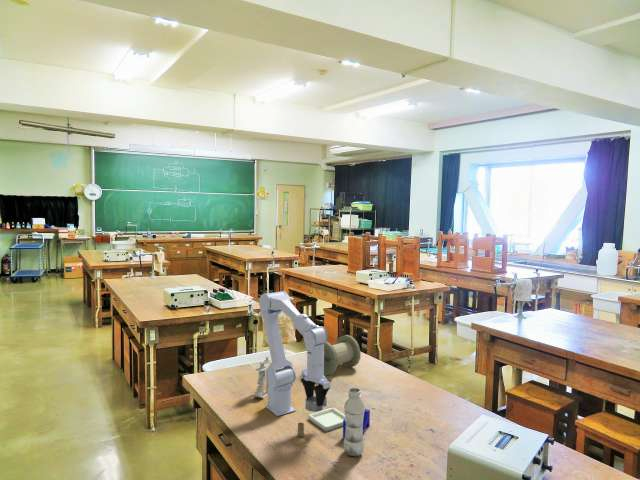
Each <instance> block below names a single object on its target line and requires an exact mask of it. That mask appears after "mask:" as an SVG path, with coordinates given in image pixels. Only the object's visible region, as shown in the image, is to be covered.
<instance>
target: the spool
mask: <svg viewBox="0 0 640 480" xmlns="http://www.w3.org/2000/svg"><path fill="white" fill-rule="evenodd" d="M360 360H361V349H360V345H359V343H358V341H357V340H356V338H354V337H353V336H352V335H349V334H345V335H341V336H340V337H338V339H337V340H336V343H335V344H332V343H330V342H329V341H327V342H326V343H324V374H325V375H324V376H330V375H333V374H334V373H335V372H336V371H337V368H338V365H342V366H344V365H345V366H344V367H346V366H347V367H346V368H353V367H356V366H357V365H358V364H359V362H360Z"/></svg>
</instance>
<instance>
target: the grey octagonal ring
mask: <svg viewBox="0 0 640 480" xmlns="http://www.w3.org/2000/svg"><path fill="white" fill-rule="evenodd" d="M324 407H327V397H325V400H324V404H323V406H319V407H318V406H317V403H316V395H313V396H310V397H305V409H306V411H308V412H314V413H316V412H319V411H323V410H324Z"/></svg>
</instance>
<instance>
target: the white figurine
mask: <svg viewBox="0 0 640 480" xmlns="http://www.w3.org/2000/svg"><path fill="white" fill-rule="evenodd" d="M268 363H270V359H269V356H265V360H262V361H260V362H259V366H257V367H255V371H257V372H258V380H257V382H256V383H257V386H256V391H255V392H254V393H253V394H252V395H251V396H252V397H253V398H257V397H258V399H265V398H266V397H268V395H267V394H268V388H269V384H268V382H267V368H268V367H269V365H266V366H265V364H268ZM264 385H265V389H266V390H265V392H264ZM262 392H263V393H262ZM265 396H266V397H265Z"/></svg>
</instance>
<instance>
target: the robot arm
mask: <svg viewBox="0 0 640 480" xmlns="http://www.w3.org/2000/svg"><path fill="white" fill-rule="evenodd" d="M290 299H291V298H290V295H289V294H288V293H287V292H286V291H284V290H281V291H277V292H267V293H261V295H260V297H259V300H258V307H259V311H260V314H261V315H260V316H261V317H262V319H263V325H264V330H265V333H266V334H265V335H266V340H267V344H268V345H267V346H268V349H269V354H270V359H271V363H270V364H269V365H268V366H269V367H268V368H267V382H268V384H269V388H268V395H267V404H266V405H265V408H267V409H268V410H269V411H270V412H272V413H273V414H274V415H275V416H276V417H279V416H282V415H285V414H289V413H293V412H296V410H297V409H296V408H295V407H293V406H292V387H293V385H294V383H295V382H296V380H297V372H296V371H295V368H294V366H293V362H291V360H289V359H287V358H286V355H285V354H286V353H285V349H284V345H283V340H282V335H281V329H280V325H279V320H278V317H279V315H280V314H281V313H282V312H283V314H285V316H287V317H288V318H289V319H290V320H291V321H292V325H293V327H294V328H295V329H296V330H297V331H298V332H299V333H300V335H302V337H303V342H304V344H305V350H306V368H304V369H303V368H302V369H301V376H303V377H301V378H300V382H301V383H302V386H303V388H304V393H305V398H307V397H310V396H316V403H317V406H318V407H319V406H323V404H324V400H325V397H326V396H327V394H328V392H329V390H330V389H331V384H330V381H329V380H328V379H327V378H326V375H324V343H326V342H328V339H329V336H328V332H327V330H326V328H325V327H324V326H322V325H321V326H319V325H316V323H314V321H312V320H311V318H309V316H308V314H305V313H301V312H299V310H297V308H296V306H294V304H293V303H292V302H291V300H290ZM316 384H317V385H316Z"/></svg>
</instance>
